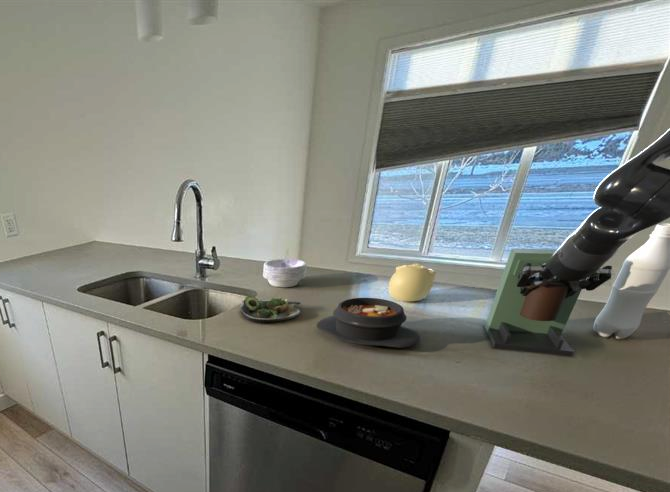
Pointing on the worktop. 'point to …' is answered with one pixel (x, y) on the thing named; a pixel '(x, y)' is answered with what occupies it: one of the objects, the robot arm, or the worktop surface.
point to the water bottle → (636, 285)
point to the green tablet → (505, 311)
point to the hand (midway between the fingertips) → (543, 293)
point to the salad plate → (268, 310)
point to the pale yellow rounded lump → (411, 282)
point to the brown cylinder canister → (544, 302)
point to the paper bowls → (284, 272)
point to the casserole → (370, 323)
